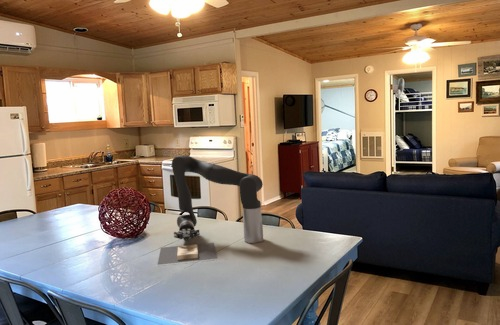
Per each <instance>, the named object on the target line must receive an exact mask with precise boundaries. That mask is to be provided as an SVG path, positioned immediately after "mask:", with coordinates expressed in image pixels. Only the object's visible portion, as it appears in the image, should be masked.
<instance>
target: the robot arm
mask: <svg viewBox="0 0 500 325" xmlns="http://www.w3.org/2000/svg"><path fill="white" fill-rule="evenodd" d="M171 168H172V172H173V173H172V174H173V176H174V182H175V186H176V190H177V196H178V197H177V198H178V208H179V211H180V212H181V211H182V212H187V213H188V214H185V215H184V214H182V215H179V216H178V217H177V219H176V224H177V227H178V228H179V229H178V231H173V237H174V238H175V239H179V240H184V241H185V242H186V241H187V242H188V241H189V240H190V239H194V238H196V237H198V236H200V234H201V232H200V229H195V227H196V226H197V223H198V222H197V221H198V220H197V217H196V215H195V212H194V209H193V208H194V207H193V202H192V194H191V190H190V189H189V185H188V184H187V181H186V173H194V174H198V175H200V176H201V177H203V178H204V179H205V180H206V181H209V182H212V183H214V184H219V185H229V186H237V187H239V198H240V203H241V205H242V222H243V240H244V242H245V243H249V244H255V243H256V244H257V243H261V242H264V225H263V222H262V221H263V220H262V204H261V203H262V202H261V201H260V200H259V198H258V192H259V191H261V190H262V188H263V184H264V183H263V180H262V178H260V177H259V176H258V175H256V174H251V173H245V172H241V171H237V170H234V169H232V168H228V167H225V166H223V165H219V164H215V163H211V162H207V161H202V160H200V159H197V158H195V157H192V156H189V155H186V154H184V155H177V156H175V157H174V158H172V160H171Z"/></svg>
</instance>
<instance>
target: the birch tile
mask: <svg viewBox="0 0 500 325" xmlns="http://www.w3.org/2000/svg"><path fill="white" fill-rule="evenodd" d="M197 244H198V243H196V244H195V243H194V244H185V245H184V246H183V245H177V246H178V252H177V259H178V260H182V259H192V258H198V250H197Z"/></svg>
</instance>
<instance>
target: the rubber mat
mask: <svg viewBox="0 0 500 325" xmlns="http://www.w3.org/2000/svg"><path fill="white" fill-rule="evenodd" d="M196 244H197V250H198V258H192V259H182V260H178V259H177V252H178V246H179V245H175V246H164V247H160V251H159V255H158V258H157V259H158V261H157V263H156V264H157V265H158V266H160V265H163V267H164V266H167V265H166V264H173V265H175V266H176V264H177V263H178V264H179V263H183V264H186V263H188V262H192V264H193V263H195V262H196V261H202V263H203V262H204V261H205V260H207V261H208V260H211V261H213V262H214V260H215V259H218V254H217V250H216V245H215V242H207V243H196ZM182 246H184V245H182Z"/></svg>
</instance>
